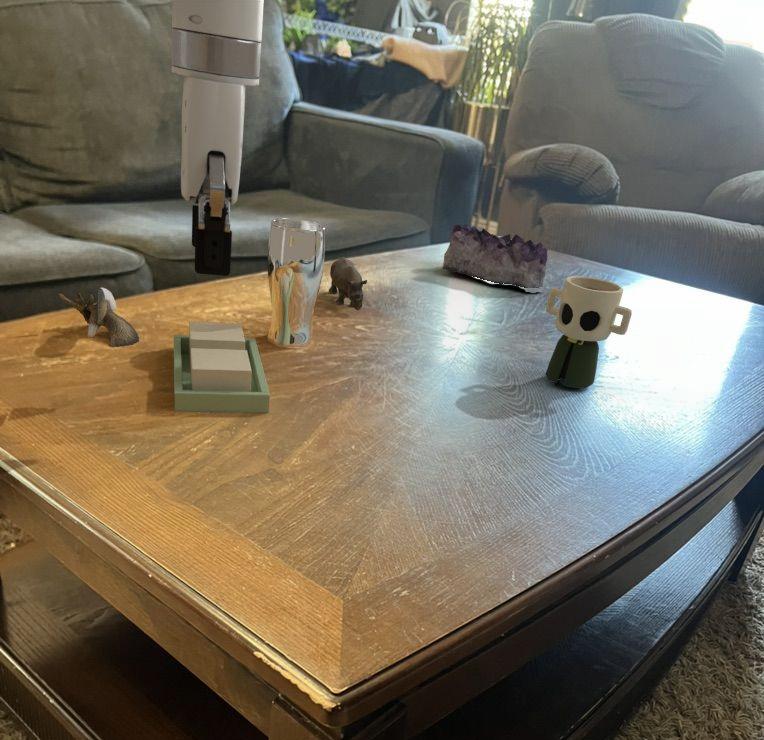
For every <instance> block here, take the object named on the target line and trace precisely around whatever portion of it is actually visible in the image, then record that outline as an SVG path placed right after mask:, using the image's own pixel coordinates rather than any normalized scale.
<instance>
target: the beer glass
mask: <svg viewBox="0 0 764 740" xmlns="http://www.w3.org/2000/svg"><path fill="white" fill-rule="evenodd" d="M325 232H326V227H325V225H324V224H323V223H321V222H318V221H315V220H310V219H305V218H298V217H276V218H273V219H271V220H270V229H269V237H268V246H267V261H266V262H267V263H266V264H267V265H266V267H267V278H268V279H267V280H268V288H269V295H270V303H271V319H270V325H269V330H268V334H267V338H266V339H267V341H268V342H269V343H270V344H272V345H274V346H276V347H280V348H283V349H284V348H285V349H289V350H290V349H291V350H292V349H293V350H302V349H307V348H310V347H312V346H313V345H314V344H315V337H314V329H313V328H314V326H313V324H314V323H313V322H314V313H315V308H316V304H317V299H318V295H319V292H320V289H321V285H322V280H323V274H324V265H325V252H326V251H325V250H326V249H325V248H326V239H325V238H326V237H325V235H326V233H325Z"/></svg>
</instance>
